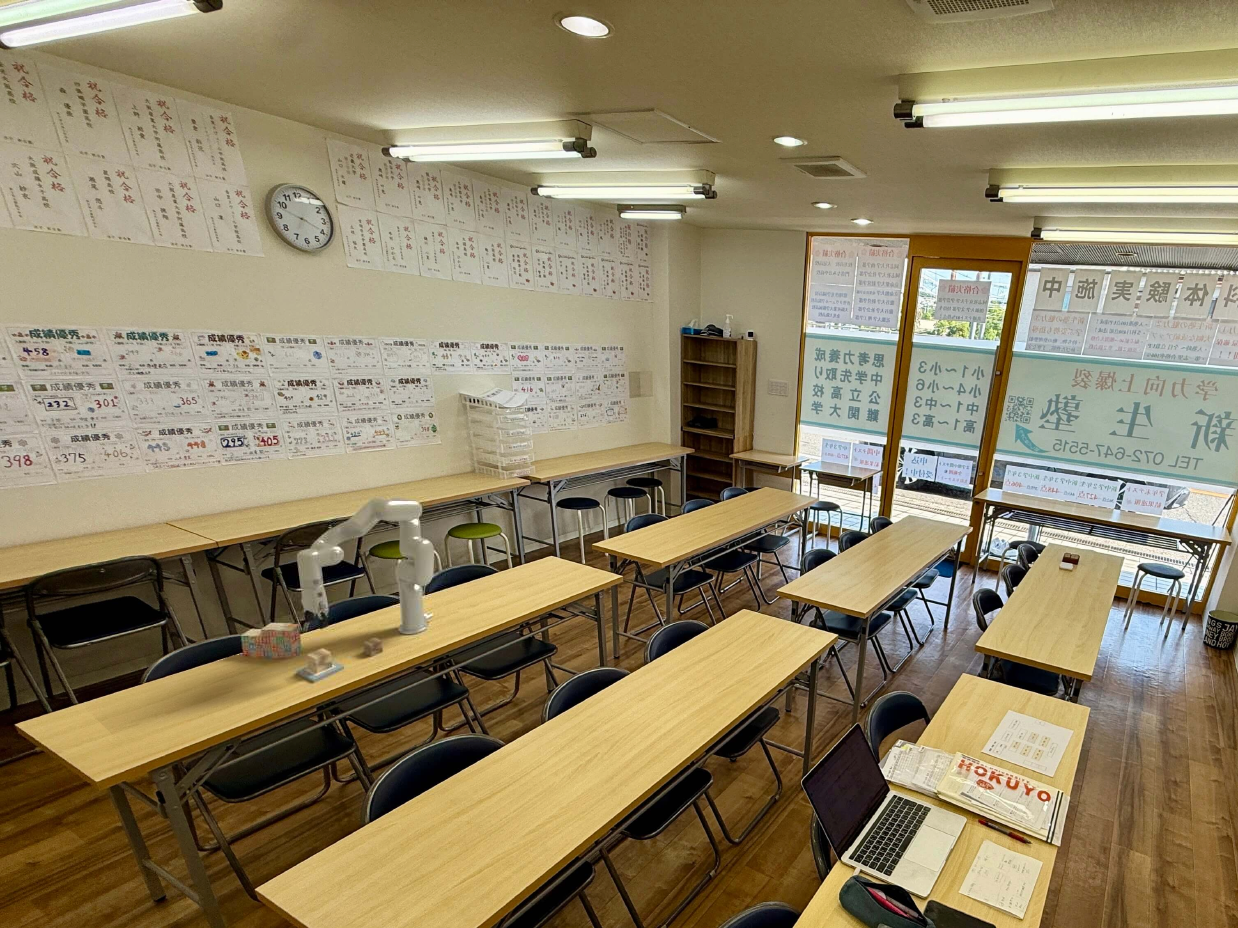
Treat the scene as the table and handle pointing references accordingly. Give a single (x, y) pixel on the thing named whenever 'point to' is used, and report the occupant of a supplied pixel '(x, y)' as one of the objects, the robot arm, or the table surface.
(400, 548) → the robot arm
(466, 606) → the table surface
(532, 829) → the table surface
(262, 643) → the stack of blocks
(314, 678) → the base board
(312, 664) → the oak block
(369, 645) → the walnut cube
